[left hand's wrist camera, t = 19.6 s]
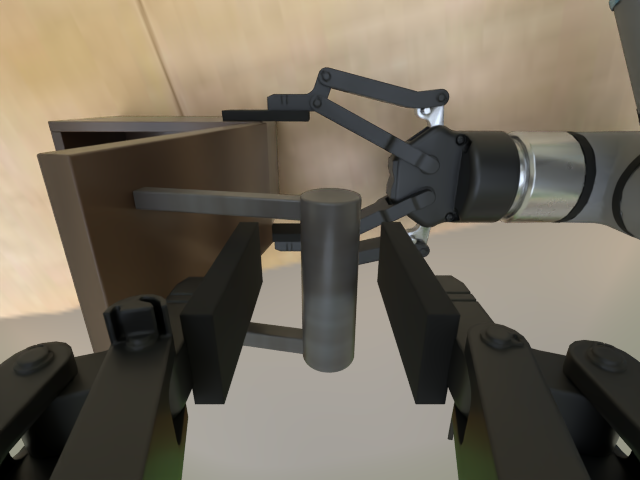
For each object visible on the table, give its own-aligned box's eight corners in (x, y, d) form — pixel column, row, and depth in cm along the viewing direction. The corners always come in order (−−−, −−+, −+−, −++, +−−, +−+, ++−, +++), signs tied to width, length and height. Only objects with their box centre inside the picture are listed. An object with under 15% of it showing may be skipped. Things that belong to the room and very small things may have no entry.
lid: (105, 397, 13) (343, 441, 12) (34, 153, 10) (353, 165, 8) (259, 241, 28) (374, 251, 27) (251, 122, 25) (382, 124, 23)
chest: (136, 206, 38) (79, 238, 29) (118, 116, 34) (47, 121, 26) (279, 206, 38) (267, 239, 29) (276, 116, 34) (260, 121, 26)
